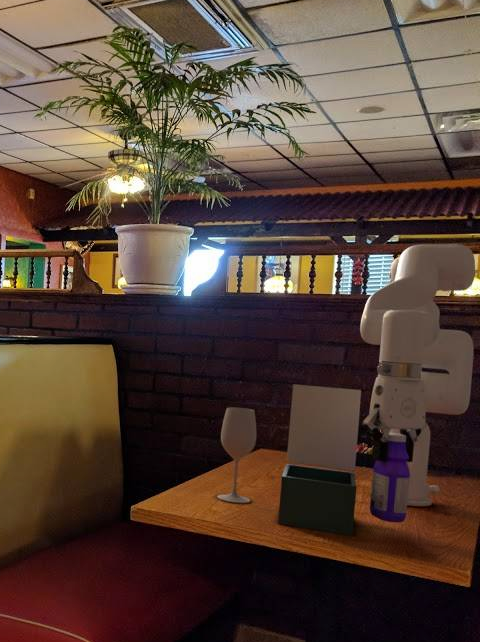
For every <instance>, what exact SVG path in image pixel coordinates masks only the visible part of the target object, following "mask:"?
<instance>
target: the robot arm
mask: <svg viewBox="0 0 480 642" xmlns="http://www.w3.org/2000/svg"><path fill="white" fill-rule="evenodd" d="M389 271H390V282H389V283H388V284H386V285H385V286H382V287H381V288H379V289H377V290H376V291H375V292H373V293H372V294H371V295H370V296H369V297H368V299H367V300H366V302H365V305H364V309H363V312H362V315H361V320H360V324H359V325H360V327H359V331H360V336H361V339H362V340H363V341H364V342H365V343H367V344H370V345H377V346H380V347H379V360H378V365H377V366H376V371H377V373H378V374H377V376H376V377H375V380H374V384H373V387H372V393H371V398H370V404H369V405H370V406H369V414H368V415H367V416H366V418H364V420H363V421H362V425H363V427H364V428H365V430H367V433H368V434H369V435H370V439H371V441H372V453H371V459H372V460H373V461H381V462H387V458H388V446H389V444H388V442H386V440H387V437H388V435H389V433H397V434H403V435H406V452H407V454H408V456H409V459H408V460H407V464H408V467H409V471H410V477H409V489H408V500H407V506H408V507H409V506H410V507H430V506H432V505H433V499H432V498H430V497H429V495H430V494H439V493H440V491H441V489H440V486H439V485H430V484H429V483H427V478H428V475H427V474H428V467H429V466H428V465H429V455H430V445H431V429H430V427H429V425H428V423H427V421H426V415H427V414H426V413H432V414H443V415H463V414H465V412H466V411H467V410H468V408H469V405H470V401H471V390H472V377H473V365H474V341H473V338H472V336H471V335H470V334H469V333H468V332H466V331H463V330H458V329H441V327H440V315H441V312H440V308H439V307H438V305H437V303H436V302H435V301H434V299H435V298H436V295H437V293H438V291H450V292H451V291H455V292H456V291H466V290H468V289H469V288H471V287H472V285H473V283H474V282H475V281H474V280H475V277H476V260H475V256H474V253H473V251H472V249H471V248H470V247H468V246H466V245H464V244H460V243H459V244H457V243H451V244H449V243H447V244H446V243H445V244H443V243H441V244H439V243H438V244H433V243H432V244H431V243H430V244H429V243H428V244H427V243H425V244H415V245H412V246H408V247H407V248H406V249H404V250H403V251H402V253H401V254H400V256H399V257H396V258H395V259H394V260H393V261H392V263H391V265H390V270H389ZM423 368H424V369H434V370H435V369H436V370H437V369H438V370H445V371H447V372H448V373H441V372H429V371H422V370H423ZM381 430H382V431H381Z"/></svg>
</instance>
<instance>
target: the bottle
mask: <svg viewBox="0 0 480 642" xmlns="http://www.w3.org/2000/svg"><path fill="white" fill-rule="evenodd" d="M386 442H388V444H389V446H388V458H387V462H381V461H377V460H375V463H374V465H373V468H372V470H373V471H372V482H371V483H372V484H371V491H370V502H369V512H370V514H371V515H372V516H373V517H375V518H377V519H379V520H381V521H384V522H388V523H403V522H405V520H406V517H407V511H408V510H407V509H408V505H407V500H408V489H409V477H410V471H409V467H408V464H407V460H408V459H409V456H408V454H407V452H406V435H403V434H397V433H389V435H388V437H387V440H386Z"/></svg>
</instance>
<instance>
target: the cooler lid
mask: <svg viewBox="0 0 480 642" xmlns="http://www.w3.org/2000/svg"><path fill="white" fill-rule="evenodd" d="M361 396H362V390H361V389H351V388H339V387H329V386H316V385H307V384H306V385H305V384H293V385H292V397H291V406H290V407H291V408H290V420H289V428H288V430H289V431H288V442H287V452H286V453H287V454H286V463H292V464H298V465H299V464H300V465H308V466H314V467H315V466H316V467H321V468H329V469H331V468H332V469H339V470H347V471H355V472H356V464H357V463H356V462H357V461H356V460H357V449H358V437H359V425H360V411H361V410H360V408H361Z"/></svg>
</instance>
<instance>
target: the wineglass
mask: <svg viewBox="0 0 480 642" xmlns="http://www.w3.org/2000/svg"><path fill="white" fill-rule="evenodd" d="M220 441H221V442H220V443H221V445H222V447H223V449H224V450H225V452H226V453H227V454H228V455H229V456H230V457H231V458H232V459H233V461H234V462H233V463H234V467H233V480H232V481H233V482H232V489H231V491H230V493H227V494H218V495H217V496H216V497H217V499H218V500H220V501H223V502H226V503H231V504H233V503H234V504H249V503H251V499H249V498H248V497H245V496H242V495H239V493H238V492H237V482H238V470H239V462H240V461H241V460H242V459H243V458H245V457H246V456H248V455H249V454H250V453H251V452H252V451H253V450H254V449H255V446H256V442H257V422H256V413H255V409H252V408H246V407H232V406H231V407H230V406H229V407H226V409H225V414H224V416H223V421H222V427H221V430H220Z"/></svg>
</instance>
